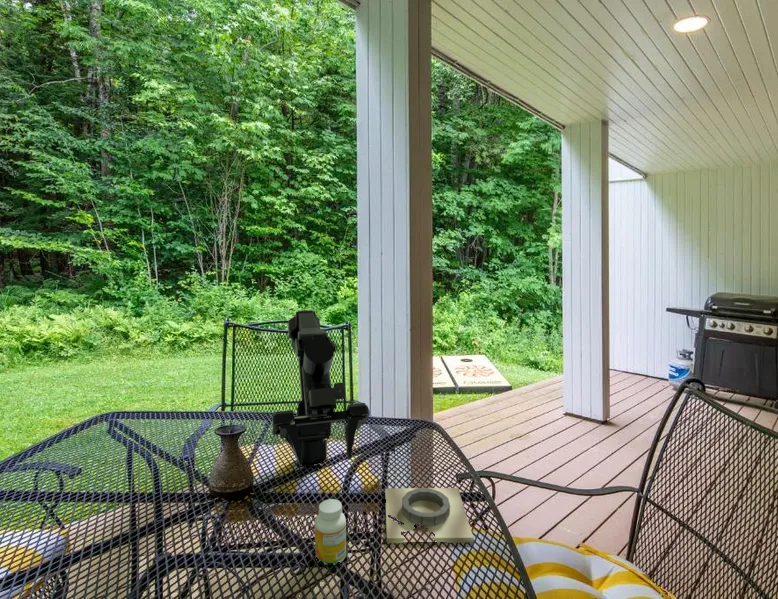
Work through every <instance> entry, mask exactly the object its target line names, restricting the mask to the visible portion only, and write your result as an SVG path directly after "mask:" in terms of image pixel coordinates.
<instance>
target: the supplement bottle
mask: <svg viewBox="0 0 778 599" xmlns="http://www.w3.org/2000/svg"><path fill="white" fill-rule="evenodd" d="M346 521H347V519H346V516H345V514H344V513H343V505H342V502H341V501H340V500H338V499H335V498H329V499H325V500H323V501H321V502H320V503H319V506H318V514H317V516H316V517H315V520H314V546H315V548H314V549H315V552H314V553H315V554H316V555H315V558H316V557H317V558H318V559H319V560H320V561H322V562H327V563H335V562H340V563H342V562H343V561H344V560H345V558H346V555H347V522H346Z"/></svg>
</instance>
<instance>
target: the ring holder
mask: <svg viewBox="0 0 778 599" xmlns="http://www.w3.org/2000/svg"><path fill="white" fill-rule="evenodd" d="M384 497H385V499H386V503H385V525H386V528H385V529H386V530H385V531H386V532H385V533H386V544H404V543H403V541H404V540H405V539H406V538H405V537H404V536H403V535H401V531H404V532H407V531H410V530H413V529H415V527H414V525H415V524H418V525H419V526H423V525H426V526H427V528H428V530H429V531H430V532H433V533H434V534H435V537H434V538H432V540H433V539H434V540H435V541H437V543H436V544H441V543H440V542H447V543H446V544H448V543H449V544H451V543H452V544H453V543H455V544H456V543H458V544H459V543H466V544H467V543H474V535H473V531H472V529H471V525H470V523H469V519H468V516H467V514H466V510H465V506H464V502H463V501H462V497H461V494H460V490H459V487H420V488H419V487H413V488H412V487H409V488H408V487H406V488H405V487H403V488H401V487H398V488H397V487H396V488H395V487H393V488H384ZM388 515H391V516H393V517H395V518H396V519H398V520H400V521H401V522H403V523H404V525H401V524H398V523H397V522H395V521H393V520H391V519H390V518H389V517H388Z"/></svg>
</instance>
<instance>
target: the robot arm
mask: <svg viewBox="0 0 778 599" xmlns="http://www.w3.org/2000/svg"><path fill="white" fill-rule="evenodd" d="M294 314H295V315H293V317H291V318H290V319H289V320H287V321H288V324H287V337H288V339H290V343H291V344H290V346H291V348H292V350H294V352H295V355H296V357H297V360H298V370H299V371H298V373H299V385H300V398H301V400H300V401H299V402H298V405H297V408H296V413H295V414H296V415H294V410H293V409H292V410H291V409H289V410H279V411H274V413H273V414H272V435H274V436H279V439H285V440H286V442H287V443H288V445H289V447H290V448H291V450H292V451H293V454H294V456H295V458H296V466H297V467H312V466H311V465H314V464H318V463H321V462H323V461H324V460H325V461H326V460H327V457H328V440H329V439H330V437H331V436H332V425H333V422H342V421H343V422H344V421H345V424H346V425H345V445H346V456H347V460H351V458H352V454H353V453H352V452H353V448H354V447H353V446H354V441H355V440H354V439H355V435H356V431H357V430H360V429H361V426H363V425H366V423H367V421H368V419H369V417H370V411H369V407H368V405H367V404H366V403H365V402H360V403H348V404H347V407H346V409H345V410H340V411H339V410H338V411H335V410H336V409H337V405H338V404H337V403H338V402H337V400H339V401H340V400H345V399H346V396H347V395H346V387H345V382H335V383H333V387H332V382H331V381H332V380H331V375H330V374H331V373H330V371H331V368H332V365H333V359H334V355H335V352H337V348H336V347H337V345H336V343H334V341H333V340H332V338H331V336H329V335H328V332H326V330H325V329H321V321H320V320H321V319H320V318H319V317H318V316H317V315H316V311H314V310H312V309H310V310H309V309H308V310H307V309H306V310H298V311H295V313H294ZM325 461H324V462H325Z"/></svg>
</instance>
